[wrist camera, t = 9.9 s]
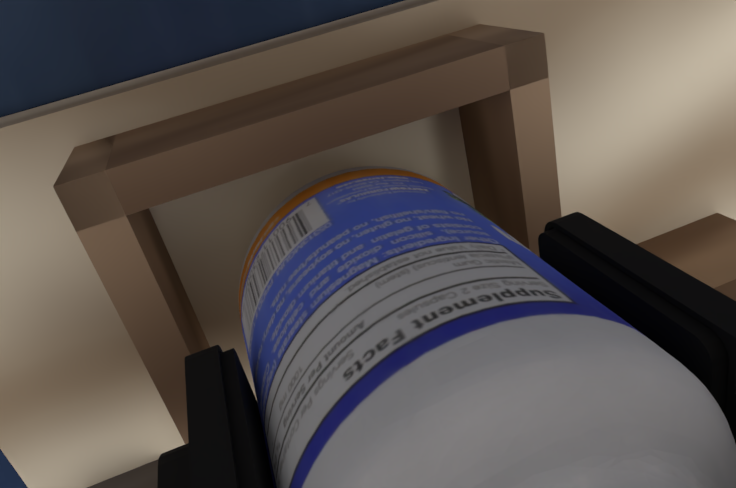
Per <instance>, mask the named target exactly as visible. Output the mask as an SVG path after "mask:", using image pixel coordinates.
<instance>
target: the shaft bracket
mask: <svg viewBox="0 0 736 488" xmlns="http://www.w3.org/2000/svg"><path fill="white" fill-rule="evenodd" d="M364 166H387V167H396V168H403V169H406V170H410V171H414V172H417V173H420V174H422V175H425V176H427V177H429V178H431V179H433V180H434V181H436V182H438V183H440V184H441V185H443V186H444V187H446V188H447V189H449V190H450V191H452V192H454V193H455V194H456V195H458V196H459V197H460V198H462V199H463V200H465V201H466V202H467V203H468V204H470V205H471V206H472V207H474V208H475V209H476V210H477V211H479V212H480V213H481V214H483V215H484V216H485V217H487V218H488V219H489V220H491V221H492V222H493V223H495V224H496V225H497V226H499V227H500V228H501V229H502V230H504V231H505V232H506V233H508V234H509V235H511V236H512V237H513V238H515V239H516V240H517V241H519V242H520V243H521V244H523V245H524V246H525V247H526V248H528V249H529V250H530V251H532V252H533V253H534V254H536V255H537V256H538V257H539V258H540V255H539V246H538V237H539V235H540V234H541V233H543V232H544V229H545V225H546V224H547V223H548V222H550V221H552V220H555V219H558V218H561V217H563V216H566V215H569V214H571V213H574V212H580V213H582V214H584V215H586V216H588V217H589V218H591V219H593V220H595V221H596V222H598V223H600V224H602V225H603V226H605V227H607V228H609V229H610V230H612V231H614V232H616V233H617V234H619V235H621V236H623V237H624V238H626V239H628V240H630V241H631V242H633V243H635V244H637V245H638V246H640V247H642V248H644V249H645V250H647V251H649V252H651V253H652V254H654V255H656V256H658V257H659V258H661V259H663V260H665V261H666V262H668V263H670V264H672V265H673V266H675V267H677V268H679V269H680V270H682V271H684V272H686V273H687V274H689V275H691V276H693V277H694V278H696V279H698V280H700V281H701V282H703V283H705V284H707V285H708V286H710V287H712V288H714V289H715V290H717V291H719V292H721V293H722V294H724V295H726V296H728V297H729V298H731V299H733V300H735V301H736V0H405V1H402V2H398V3H395V4H391V5H388V6H384V7H381V8H377V9H374V10H370V11H367V12H364V13H360V14H357V15H353V16H350V17H346V18H343V19H339V20H336V21H332V22H329V23H326V24H322V25H319V26H315V27H312V28H308V29H305V30H301V31H298V32H294V33H291V34H288V35H284V36H281V37H277V38H274V39H270V40H267V41H263V42H260V43H256V44H253V45H250V46H246V47H243V48H239V49H236V50H232V51H229V52H225V53H222V54H218V55H215V56H211V57H208V58H205V59H201V60H198V61H194V62H191V63H187V64H184V65H180V66H177V67H173V68H170V69H167V70H163V71H160V72H156V73H153V74H149V75H146V76H142V77H139V78H135V79H132V80H129V81H125V82H122V83H118V84H115V85H111V86H108V87H104V88H101V89H97V90H94V91H91V92H87V93H84V94H80V95H77V96H73V97H70V98H66V99H63V100H59V101H56V102H53V103H49V104H46V105H42V106H39V107H35V108H32V109H28V110H25V111H21V112H18V113H14V114H11V115H8V116H4V117H1V118H0V449H1V450H2V452H3V453H4V455H5V456H6V457H7V459H8V460H9V462H10V463H11V464H12V466H13V467H14V469H15V470H16V471H17V473H18V474H19V476H20V477H21V478H22V480H23V481H24V483H25V484H26V485H27V487H28V488H157V480H158V459H159V457H160V455H161V454H162V453H165V452H167V451H170V450H172V449H175V448H177V447H180V446H182V445H185V444H187V443H189V442H188V422H187V402H186V381H185V357H186V356H188V355H191V354H193V353H196V352H199V351H202V350H204V349H207V348H210V347H212V346H215V345H219V346H220V347H221V349H222V351H223V352H224V351H227V350H230V349H232V348H234V349H235V351H236V353H237V355H238V357H239V360H240V362H241V364H242V367H243V369H244V372H245V374H246V376H247V379H248V381H249V384H250V386H251V388H252V391H253V393H254V395H255V398H256V393H255V388H254V383H253V378H252V373H251V369H250V364H249V359H248V355H247V350H246V346H245V341H244V336H243V332H242V327H241V321H240V314H239V303H238V293H239V280H240V274H241V269H242V265H243V261H244V258H245V256H246V253H247V250H248V248H249V246H250V244H251V242H252V239H253V238H254V236H255V234H256V232H257V231H258V229H259V228H260V226H261V225H262V223H263V222H264V220H265V219H266V218H267V217H268V216H269V214H270V213H271V212H272V211H273V210H274V209H275V208H276V207H277V206H278V205H279V204H280V203H281V202H282V201H283V200H285V199H286V198H287V197H288V196H290V195H291V194H292V193H293V192H295V191H297V190H298V189H300V188H301V187H303V186H304V185H306V184H308V183H310V182H311V181H313V180H316V179H318V178H320V177H322V176H325V175H327V174H330V173H333V172H337V171H340V170H345V169H350V168H355V167H364ZM256 400H257V398H256Z"/></svg>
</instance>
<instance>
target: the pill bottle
mask: <svg viewBox="0 0 736 488" xmlns="http://www.w3.org/2000/svg"><path fill="white" fill-rule="evenodd" d="M238 303H239V314H240V321H241V327H242V332H243V336H244V341H245V346H246V350H247V355H248V359H249V364H250V369H251V373H252V378H253V383H254V388H255V393H256V398H257V403H258V408H259V413H260V419H261V424H262V429H263V434H264V439H265V444H266V449H267V455H268V460H269V465H270V470H271V475H272V480H273V486H274V488H736V444H735V440H734V437H733V435H732V432H731V430H730V427H729V424H728V422H727V419H726V417H725V415H724V414H723V412H722V410H721V408H720V407H719V405H718V403H717V402H716V400H715V399H714V397H713V396H712V395H711V393H710V392H709V391H708V389H707V388H706V387H705V385H704V384H703V383H702V382H701V381H700V380H699V379H698V378H697V377H696V376H695V375H694V374H693V373H692V372H691V371H689V370H688V369H687V368H686V367H685V366H684V365H682V364H681V363H680V362H679V361H678V360H676V359H675V358H674V357H672V356H671V355H670V354H668V353H667V352H666V351H664V350H663V349H662V348H660V347H659V346H658V345H657V344H656V343H654V342H653V341H651V340H650V339H649V338H647V337H646V336H645V335H643V334H642V333H641V332H639V331H638V330H637V329H635V328H634V327H633V326H631V325H630V324H629V323H627V322H626V321H625V320H623V319H622V318H621V317H619V316H618V315H616V314H615V313H614V312H612V311H611V310H610V309H608V308H607V307H605V306H604V305H603V304H601V303H600V302H599V301H597V300H596V299H594V298H593V297H592V296H590V295H589V294H588V293H586V292H585V291H584V290H582V289H581V288H579V287H578V286H577V285H575V284H574V283H573V282H571V281H570V280H569V279H567V278H566V277H565V276H563V275H562V274H561V273H559V272H558V271H557V270H555V269H554V268H553V267H551V266H550V265H549V264H547V263H546V262H545V261H543V260H542V259H541V258H539V257H538V256H537V255H536V254H534V253H533V252H532V251H530V250H529V249H528V248H526V247H525V246H524V245H523V244H521V243H520V242H519V241H517V240H516V239H515V238H513V237H512V236H511V235H509V234H508V233H506V232H505V231H504V230H502V229H501V228H500V227H499V226H497V225H496V224H495V223H493V222H492V221H491V220H489V219H488V218H487V217H485V216H484V215H483V214H481V213H480V212H479V211H477V210H476V209H475V208H474V207H472V206H471V205H470V204H468V203H467V202H466V201H465V200H463V199H462V198H460V197H459V196H458V195H456V194H455V193H454V192H452V191H450V190H449V189H447V188H446V187H444V186H443V185H441V184H440V183H438V182H436V181H434V180H433V179H431V178H429V177H427V176H425V175H422V174H420V173H417V172H414V171H410V170H406V169H403V168H396V167H387V166H364V167H355V168H350V169H345V170H340V171H337V172H333V173H330V174H327V175H325V176H322V177H320V178H318V179H316V180H313V181H311V182H310V183H308V184H306V185H304V186H303V187H301V188H300V189H298V190H297V191H295V192H293V193H292V194H291V195H290V196H288V197H287V198H286V199H285V200H283V201H282V202H281V203H280V204H279V205H278V206H277V207H276V208H275V209H274V210H273V211H272V212H271V213H270V214H269V216H268V217H267V218H266V219H265V220H264V222H263V223H262V225H261V226H260V228H259V229H258V231H257V232H256V234H255V236H254V238H253V239H252V242H251V244H250V246H249V248H248V250H247V253H246V256H245V258H244V261H243V265H242V269H241V274H240V280H239V293H238Z"/></svg>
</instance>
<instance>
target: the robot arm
mask: <svg viewBox="0 0 736 488" xmlns="http://www.w3.org/2000/svg"><path fill="white" fill-rule="evenodd" d="M538 246H539V255H540V258H541V259H542V260H543V261H545V262H546V263H547V264H549V265H550V266H551V267H553V268H554V269H555V270H557V271H558V272H559V273H561V274H562V275H563V276H565V277H566V278H567V279H569V280H570V281H571V282H573V283H574V284H575V285H577V286H578V287H579V288H581V289H582V290H584V291H585V292H586V293H588V294H589V295H590V296H592V297H593V298H594V299H596V300H597V301H599V302H600V303H601V304H603V305H604V306H605V307H607V308H608V309H610V310H611V311H612V312H614V313H615V314H616V315H618V316H619V317H621V318H622V319H623V320H625V321H626V322H627V323H629V324H630V325H631V326H633V327H634V328H635V329H637V330H638V331H639V332H641V333H642V334H643V335H645V336H646V337H647V338H649V339H650V340H651V341H653V342H654V343H656V344H657V345H658V346H659V347H660V348H662V349H663V350H664V351H666V352H667V353H668V354H670V355H671V356H672V357H674V358H675V359H676V360H678V361H679V362H680V363H681V364H682V365H684V366H685V367H686V368H687V369H688V370H689V371H691V372H692V373H693V374H694V375H695V376H696V377H697V378H698V379H699V380H700V381H701V382H702V383H703V384H704V385H705V387H706V388H707V389H708V391H709V392H710V393H711V395H712V396H713V397H714V399H715V400H716V402H717V403H718V405H719V407H720V408H721V410H722V412H723V414H724V415H725V417H726V419H727V422H728V424H729V427H730V430H731V432H732V435H733V437H734V440H735V444H736V301H735V300H733V299H731V298H729V297H728V296H726V295H724V294H722V293H721V292H719V291H717V290H715V289H714V288H712V287H710V286H708V285H707V284H705V283H703V282H701V281H700V280H698V279H696V278H694V277H693V276H691V275H689V274H687V273H686V272H684V271H682V270H680V269H679V268H677V267H675V266H673V265H672V264H670V263H668V262H666V261H665V260H663V259H661V258H659V257H658V256H656V255H654V254H652V253H651V252H649V251H647V250H645V249H644V248H642V247H640V246H638V245H637V244H635V243H633V242H631V241H630V240H628V239H626V238H624V237H623V236H621V235H619V234H617V233H616V232H614V231H612V230H610V229H609V228H607V227H605V226H603V225H602V224H600V223H598V222H596V221H595V220H593V219H591V218H589V217H588V216H586V215H584V214H582V213H580V212H574V213H571V214H569V215H566V216H563V217H561V218H558V219H555V220H552V221H550V222H548V223H547V224H546V225H545V229H544V232H543V233H541V234H540V235H539V237H538ZM185 381H186V402H187V422H188V442H189V443H187V444H185V445H182V446H180V447H177V448H175V449H172V450H170V451H167V452H165V453H162V454H161V455H160V457H159V459H158V480H157V488H274V486H273V480H272V475H271V470H270V465H269V460H268V455H267V449H266V444H265V439H264V434H263V429H262V424H261V419H260V413H259V408H258V403H257V400H256V398H255V395H254V393H253V391H252V388H251V386H250V384H249V381H248V379H247V376H246V374H245V372H244V369H243V367H242V364H241V362H240V360H239V357H238V355H237V353H236V351H235V349H234V348H232V349H230V350H227V351H224V352H223V351H222V349H221V347H220V346H219V345H215V346H212V347H210V348H207V349H204V350H202V351H199V352H196V353H193V354H191V355H188V356H186V357H185Z"/></svg>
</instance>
